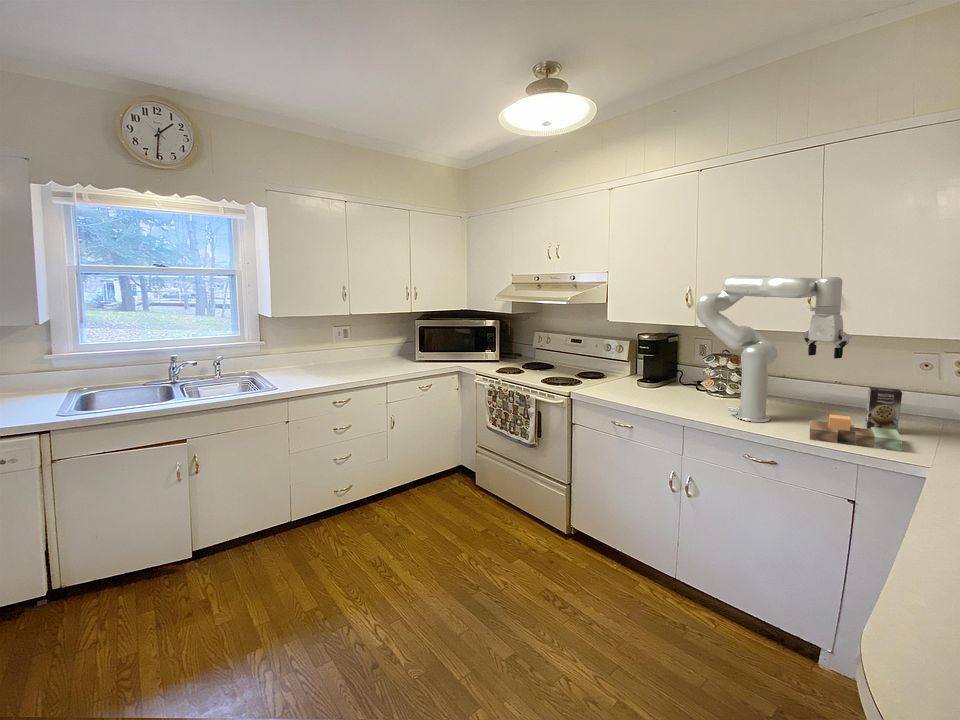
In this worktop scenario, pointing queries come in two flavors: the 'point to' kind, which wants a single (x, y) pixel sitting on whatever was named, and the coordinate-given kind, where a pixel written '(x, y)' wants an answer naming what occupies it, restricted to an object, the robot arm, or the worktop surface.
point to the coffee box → (883, 408)
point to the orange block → (839, 422)
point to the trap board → (857, 436)
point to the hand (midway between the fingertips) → (824, 356)
